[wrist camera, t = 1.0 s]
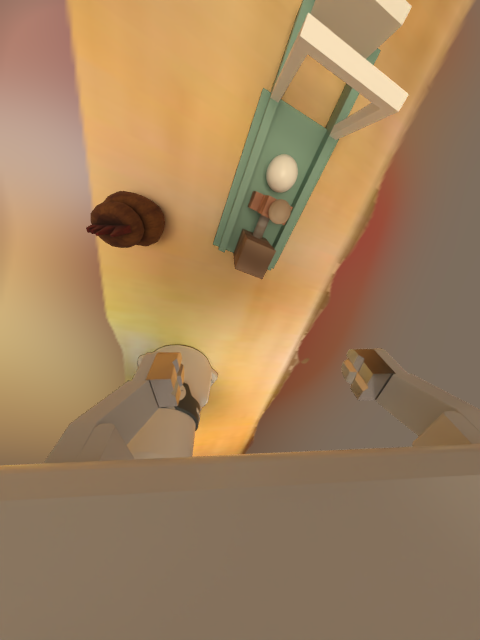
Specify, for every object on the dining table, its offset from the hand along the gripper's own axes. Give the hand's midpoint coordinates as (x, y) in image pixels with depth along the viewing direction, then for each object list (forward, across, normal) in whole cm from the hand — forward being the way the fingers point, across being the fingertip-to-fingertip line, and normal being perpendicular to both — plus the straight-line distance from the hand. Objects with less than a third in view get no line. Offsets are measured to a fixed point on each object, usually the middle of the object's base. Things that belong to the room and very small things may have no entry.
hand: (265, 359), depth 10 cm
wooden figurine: (+28, +14, -3) cm, 31 cm away
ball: (+25, -5, -8) cm, 27 cm away
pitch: (+28, -5, -9) cm, 30 cm away
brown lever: (+26, -3, -2) cm, 26 cm away
